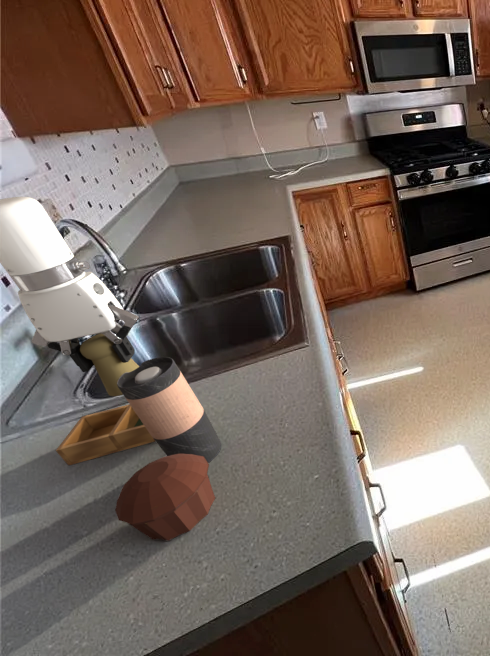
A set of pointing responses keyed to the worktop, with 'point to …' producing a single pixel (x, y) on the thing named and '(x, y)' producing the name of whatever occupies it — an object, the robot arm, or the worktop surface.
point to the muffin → (167, 496)
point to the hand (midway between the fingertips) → (109, 361)
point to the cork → (106, 362)
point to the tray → (104, 435)
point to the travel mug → (169, 409)
